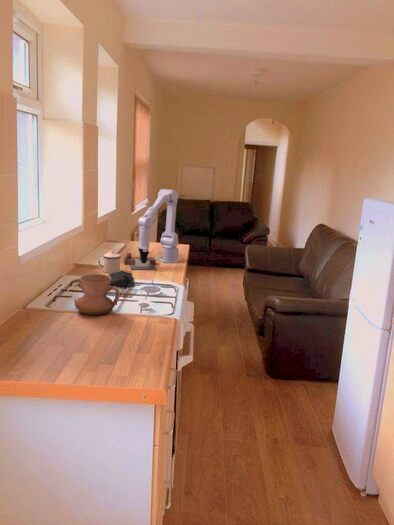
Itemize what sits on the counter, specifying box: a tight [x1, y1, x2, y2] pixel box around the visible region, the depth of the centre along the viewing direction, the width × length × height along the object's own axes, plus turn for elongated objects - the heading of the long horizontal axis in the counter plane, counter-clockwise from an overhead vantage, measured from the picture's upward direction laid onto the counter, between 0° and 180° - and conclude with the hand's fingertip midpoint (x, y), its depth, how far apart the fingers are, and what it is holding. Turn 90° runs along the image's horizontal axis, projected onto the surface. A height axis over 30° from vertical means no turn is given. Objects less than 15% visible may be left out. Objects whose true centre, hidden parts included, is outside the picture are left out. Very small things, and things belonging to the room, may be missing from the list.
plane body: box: [123, 252, 157, 266], centre depth 265 cm, size 18×8×6 cm, turn 102°
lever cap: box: [135, 258, 150, 268], centre depth 255 cm, size 8×5×5 cm, turn 100°
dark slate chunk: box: [108, 270, 135, 289], centre depth 224 cm, size 15×22×5 cm
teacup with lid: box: [97, 250, 121, 275], centre depth 241 cm, size 12×9×12 cm
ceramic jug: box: [73, 273, 121, 316], centre depth 178 cm, size 18×14×14 cm
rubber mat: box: [129, 265, 157, 271], centre depth 255 cm, size 14×9×1 cm, turn 102°
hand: (143, 262), depth 254 cm, fingers open, 5 cm apart
